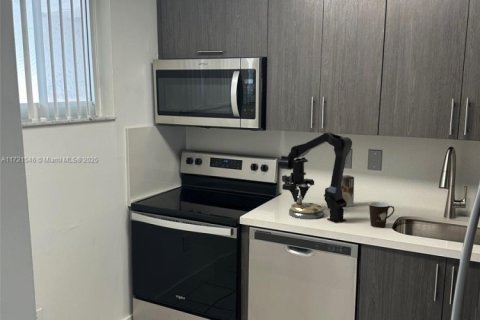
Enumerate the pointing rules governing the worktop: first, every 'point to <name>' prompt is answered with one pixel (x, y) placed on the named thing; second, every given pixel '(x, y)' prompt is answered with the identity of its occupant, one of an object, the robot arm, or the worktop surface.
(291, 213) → the housing
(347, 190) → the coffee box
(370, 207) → the coffee mug
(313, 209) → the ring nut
